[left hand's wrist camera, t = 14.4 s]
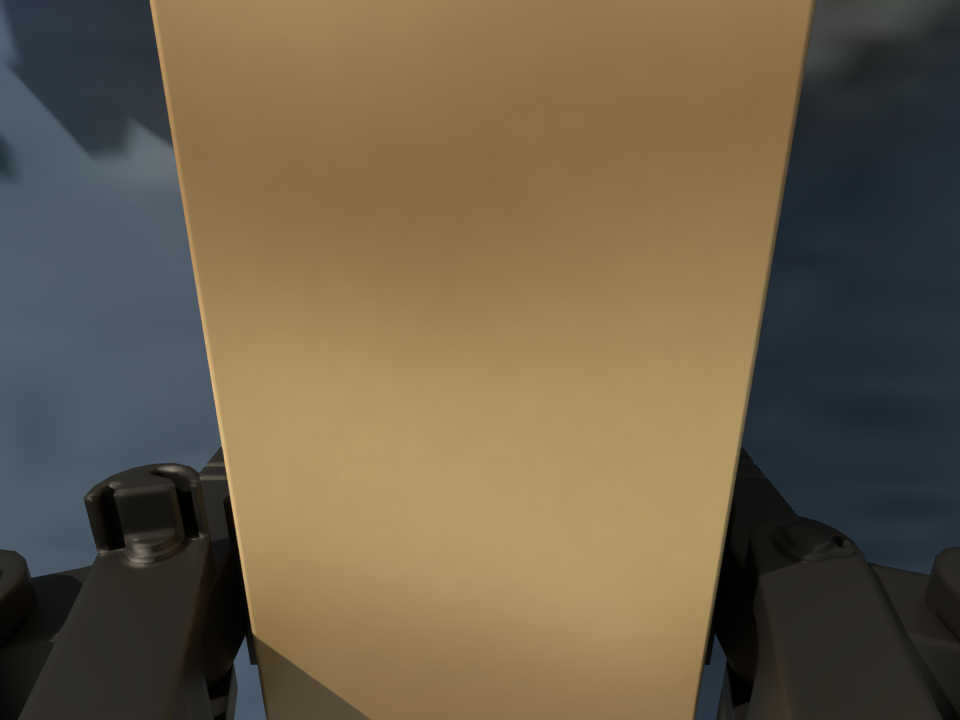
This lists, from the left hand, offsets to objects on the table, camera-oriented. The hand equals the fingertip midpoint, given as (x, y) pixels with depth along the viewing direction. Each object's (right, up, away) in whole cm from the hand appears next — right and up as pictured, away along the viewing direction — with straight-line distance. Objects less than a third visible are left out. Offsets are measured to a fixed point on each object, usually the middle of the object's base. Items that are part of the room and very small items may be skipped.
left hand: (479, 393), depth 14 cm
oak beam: (0, +10, -4) cm, 11 cm away
